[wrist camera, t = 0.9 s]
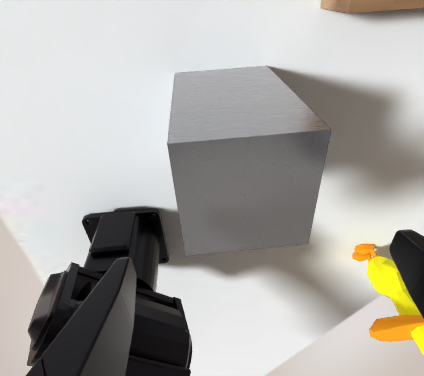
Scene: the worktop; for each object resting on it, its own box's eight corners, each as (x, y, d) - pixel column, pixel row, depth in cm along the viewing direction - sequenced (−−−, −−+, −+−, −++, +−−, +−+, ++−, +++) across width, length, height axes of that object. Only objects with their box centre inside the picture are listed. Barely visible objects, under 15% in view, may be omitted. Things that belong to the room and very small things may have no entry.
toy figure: (326, 264, 31) (391, 394, 21) (332, 241, 29) (407, 373, 19) (388, 258, 31) (480, 383, 21) (398, 234, 29) (505, 361, 19)
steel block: (262, 148, 22) (308, 243, 14) (185, 154, 22) (185, 255, 14) (267, 65, 19) (331, 129, 11) (174, 73, 18) (167, 143, 10)
